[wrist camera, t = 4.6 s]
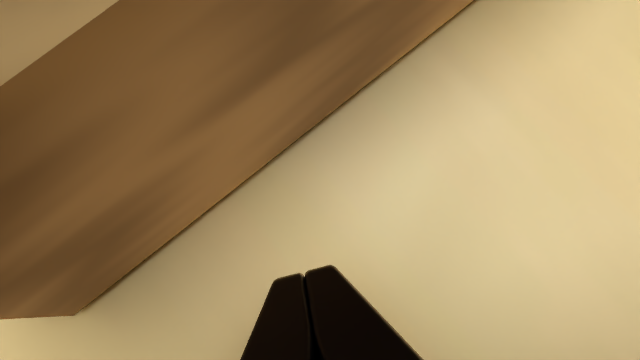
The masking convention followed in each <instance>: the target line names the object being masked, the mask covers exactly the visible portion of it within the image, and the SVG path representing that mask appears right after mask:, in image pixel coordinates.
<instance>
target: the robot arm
mask: <svg viewBox="0 0 640 360" xmlns="http://www.w3.org/2000/svg"><path fill="white" fill-rule="evenodd" d="M240 360H423V359H422V358H421V357H420V356H419V354H418V353H417V352H416V351H415V350H414V349H413V348H412V347H411V346H410V345H409V344H408V343H407V342H406V341H405V340H404V339H403V338H402V337H401V336H400V334H399V333H398V332H397V331H396V330H395V329H394V328H393V327H392V326H391V325H390V324H389V323H388V322H387V321H386V320H385V319H384V318H383V317H382V316H381V314H380V313H379V312H378V311H377V310H376V309H375V308H374V307H373V306H372V305H371V304H370V303H369V302H368V301H367V300H366V299H365V298H364V297H363V296H362V294H361V293H360V292H359V291H358V290H357V289H356V288H355V287H354V286H353V285H352V284H351V283H350V282H349V281H348V280H347V279H346V278H345V277H344V276H343V274H342V273H341V272H340V271H339V270H338V269H337V268H336V267H334V266H332V265H328V266H324V267H320V268H316V269H312V270H309V271H307V272H306V273H305V277H304V275H303V274H301V273H297V274H293V275H289V276H285V277H281V278H278V279H276V280H275V281H274V282H273V283H272V286H271V288H270V290H269V293H268V295H267V298H266V300H265V302H264V305H263V307H262V309H261V312H260V314H259V317H258V319H257V321H256V324H255V326H254V328H253V331H252V333H251V336H250V338H249V340H248V343H247V345H246V347H245V350H244V352H243V355H242V357H241V359H240Z"/></svg>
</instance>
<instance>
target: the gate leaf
mask: <svg viewBox="0 0 640 360" xmlns="http://www.w3.org/2000/svg"><path fill="white" fill-rule="evenodd" d="M472 1H474V0H0V319H14V318H34V317H54V316H73V315H75V314H76V313H78V312H79V311H80V310H81V309H83V308H84V307H85V306H87V305H88V304H89V303H90V302H92V301H93V300H94V299H95V298H97V297H98V296H99V295H100V294H102V293H103V292H104V291H106V290H107V289H108V288H109V287H111V286H112V285H113V284H114V283H116V282H117V281H118V280H120V279H121V278H122V277H123V276H125V275H126V274H127V273H128V272H130V271H131V270H132V269H133V268H135V267H136V266H137V265H139V264H140V263H141V262H142V261H144V260H145V259H146V258H147V257H149V256H150V255H151V254H153V253H154V252H155V251H156V250H158V249H159V248H160V247H161V246H163V245H164V244H165V243H166V242H168V241H169V240H170V239H172V238H173V237H174V236H175V235H177V234H178V233H179V232H180V231H182V230H183V229H184V228H185V227H187V226H188V225H189V224H191V223H192V222H193V221H194V220H196V219H197V218H198V217H199V216H201V215H202V214H203V213H205V212H206V211H207V210H208V209H210V208H211V207H212V206H213V205H215V204H216V203H217V202H218V201H220V200H221V199H222V198H224V197H225V196H226V195H227V194H229V193H230V192H231V191H232V190H234V189H235V188H236V187H238V186H239V185H240V184H241V183H243V182H244V181H245V180H246V179H248V178H249V177H250V176H251V175H253V174H254V173H255V172H257V171H258V170H259V169H260V168H262V167H263V166H264V165H265V164H267V163H268V162H269V161H271V160H272V159H273V158H274V157H276V156H277V155H278V154H279V153H281V152H282V151H283V150H284V149H286V148H287V147H288V146H290V145H291V144H292V143H293V142H295V141H296V140H297V139H298V138H300V137H301V136H302V135H303V134H305V133H306V132H307V131H309V130H310V129H311V128H312V127H314V126H315V125H316V124H317V123H319V122H320V121H321V120H323V119H324V118H325V117H326V116H328V115H329V114H330V113H331V112H333V111H334V110H335V109H336V108H338V107H339V106H340V105H342V104H343V103H344V102H345V101H347V100H348V99H349V98H350V97H352V96H353V95H354V94H356V93H357V92H358V91H359V90H361V89H362V88H363V87H364V86H366V85H367V84H368V83H369V82H371V81H372V80H373V79H375V78H376V77H377V76H378V75H380V74H381V73H382V72H383V71H385V70H386V69H387V68H389V67H390V66H391V65H392V64H394V63H395V62H396V61H397V60H399V59H400V58H401V57H402V56H404V55H405V54H406V53H408V52H409V51H410V50H411V49H413V48H414V47H415V46H416V45H418V44H419V43H420V42H421V41H423V40H424V39H425V38H427V37H428V36H429V35H430V34H432V33H433V32H434V31H435V30H437V29H438V28H439V27H441V26H442V25H443V24H444V23H446V22H447V21H448V20H449V19H451V18H452V17H453V16H454V15H456V14H457V13H458V12H460V11H461V10H462V9H463V8H465V7H466V6H467V5H468V4H470V3H471V2H472Z"/></svg>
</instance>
